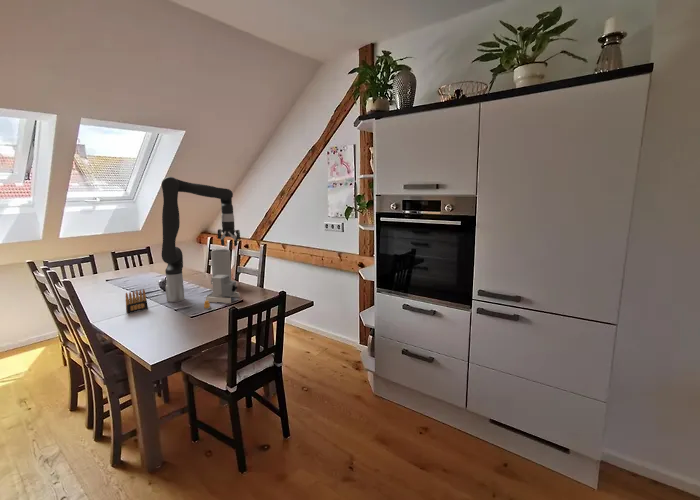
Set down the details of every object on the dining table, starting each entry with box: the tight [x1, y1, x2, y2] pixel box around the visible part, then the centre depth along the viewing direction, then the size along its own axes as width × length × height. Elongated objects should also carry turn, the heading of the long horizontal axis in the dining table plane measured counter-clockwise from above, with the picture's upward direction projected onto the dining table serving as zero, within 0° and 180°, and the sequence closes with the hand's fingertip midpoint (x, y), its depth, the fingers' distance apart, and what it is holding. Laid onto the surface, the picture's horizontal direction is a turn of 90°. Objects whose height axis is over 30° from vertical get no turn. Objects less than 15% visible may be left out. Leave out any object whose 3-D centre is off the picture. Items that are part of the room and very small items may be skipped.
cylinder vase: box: [210, 248, 233, 281], centre depth 251 cm, size 12×12×25 cm
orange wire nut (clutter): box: [203, 300, 211, 309], centre depth 210 cm, size 3×3×4 cm
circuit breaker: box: [210, 275, 238, 298], centre depth 222 cm, size 8×14×15 cm, turn 82°
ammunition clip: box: [125, 288, 149, 315], centre depth 203 cm, size 11×2×12 cm, turn 138°
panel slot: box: [205, 291, 240, 304], centre depth 224 cm, size 16×12×4 cm
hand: (229, 245), depth 230 cm, fingers open, 8 cm apart
